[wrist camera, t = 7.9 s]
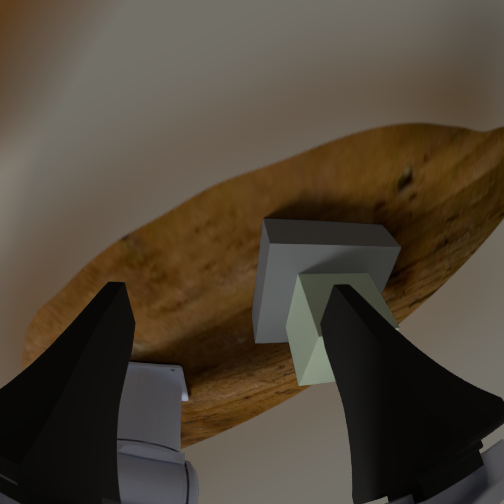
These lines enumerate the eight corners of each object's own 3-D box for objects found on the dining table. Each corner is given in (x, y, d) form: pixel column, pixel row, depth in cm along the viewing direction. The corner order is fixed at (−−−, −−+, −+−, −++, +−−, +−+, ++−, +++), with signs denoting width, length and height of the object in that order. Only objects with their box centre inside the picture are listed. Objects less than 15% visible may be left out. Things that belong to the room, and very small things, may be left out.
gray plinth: (251, 315, 24) (255, 343, 21) (263, 218, 18) (269, 243, 16) (349, 311, 25) (360, 336, 22) (382, 224, 20) (401, 247, 17)
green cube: (285, 327, 20) (298, 385, 16) (297, 273, 18) (318, 336, 13) (347, 323, 21) (368, 375, 17) (367, 272, 18) (399, 327, 14)
